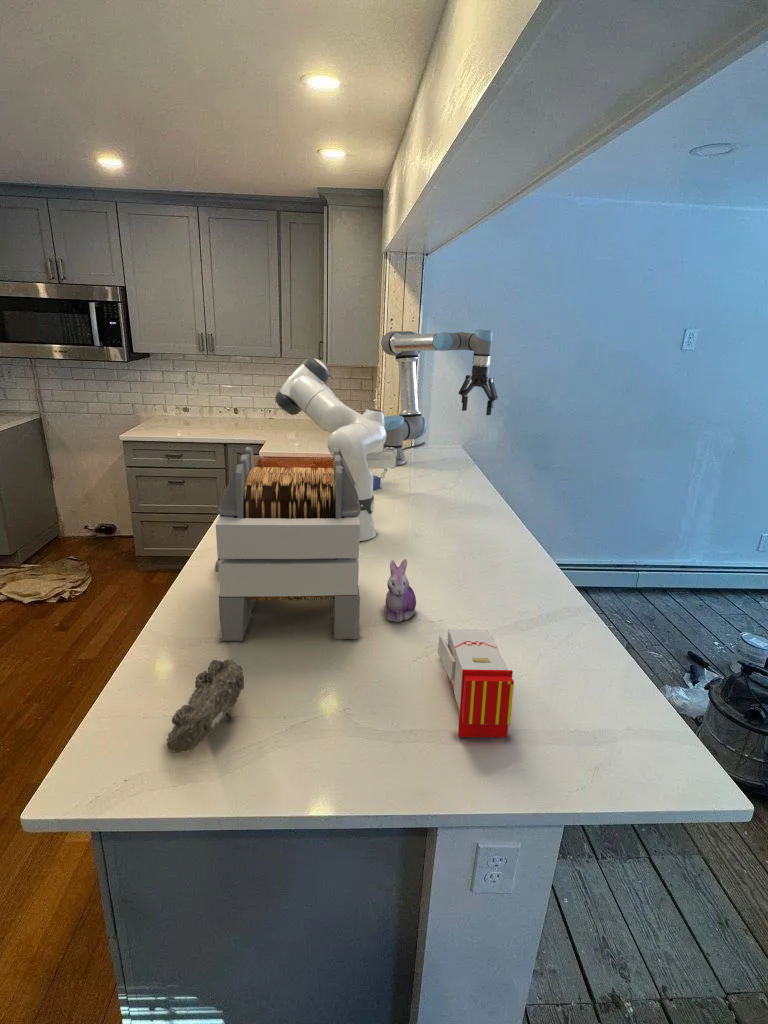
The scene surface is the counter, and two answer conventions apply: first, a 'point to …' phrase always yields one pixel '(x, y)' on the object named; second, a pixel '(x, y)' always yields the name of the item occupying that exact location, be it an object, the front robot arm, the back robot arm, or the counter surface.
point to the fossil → (206, 705)
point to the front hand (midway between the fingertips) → (371, 477)
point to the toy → (478, 682)
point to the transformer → (288, 542)
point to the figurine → (399, 594)
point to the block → (376, 482)
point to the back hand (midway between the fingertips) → (476, 412)
